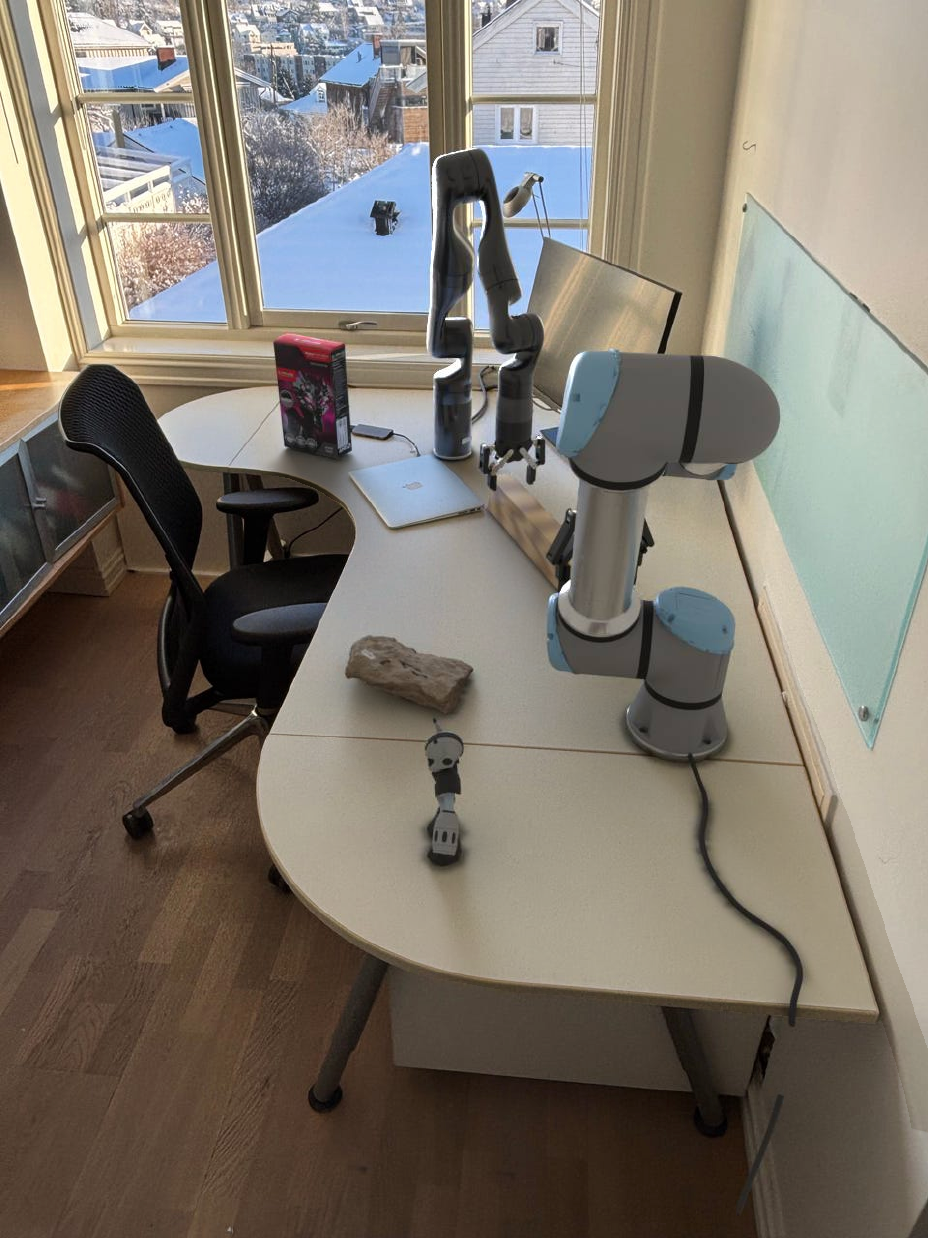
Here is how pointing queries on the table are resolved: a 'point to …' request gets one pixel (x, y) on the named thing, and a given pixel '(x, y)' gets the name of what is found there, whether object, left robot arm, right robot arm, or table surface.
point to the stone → (408, 672)
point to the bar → (525, 521)
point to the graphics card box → (313, 395)
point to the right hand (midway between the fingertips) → (596, 588)
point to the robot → (444, 794)
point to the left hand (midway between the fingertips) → (511, 486)
